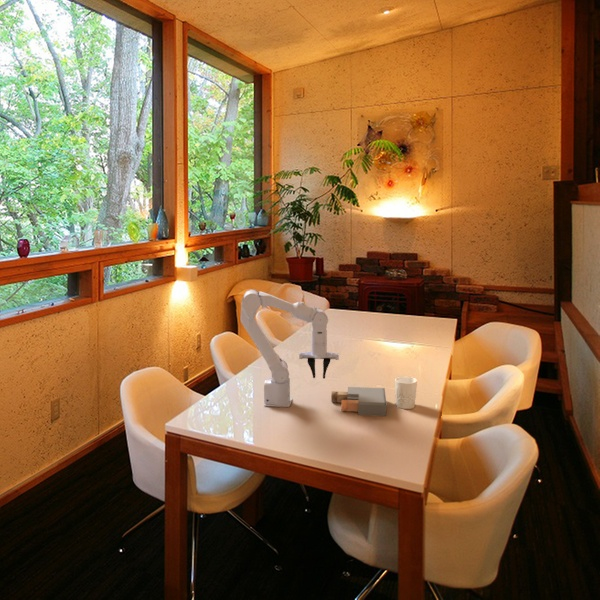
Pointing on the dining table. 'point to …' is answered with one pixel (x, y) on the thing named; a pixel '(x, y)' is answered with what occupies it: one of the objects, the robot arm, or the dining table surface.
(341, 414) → the dining table surface
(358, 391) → the box
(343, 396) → the walnut knob
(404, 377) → the white cup
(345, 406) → the orange knob
